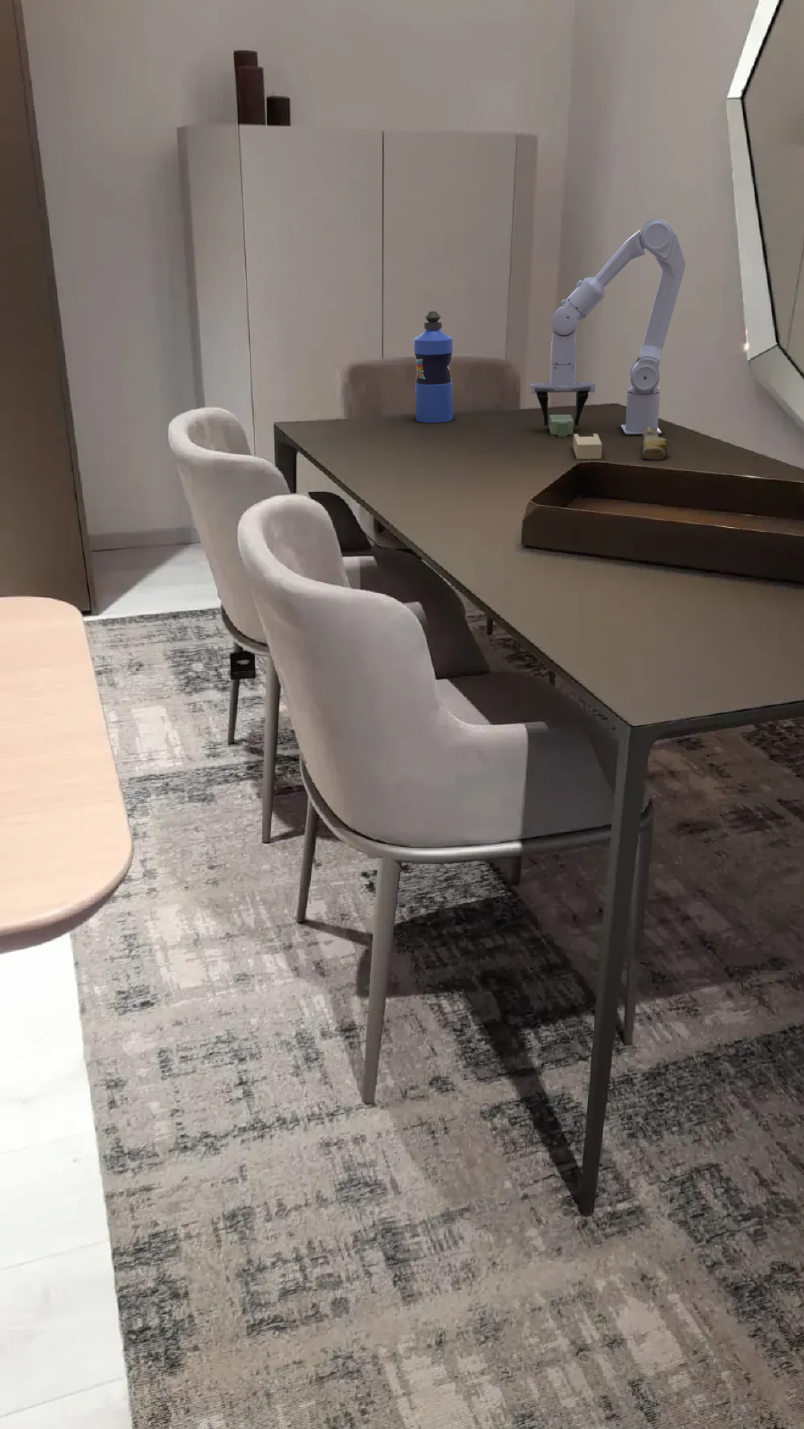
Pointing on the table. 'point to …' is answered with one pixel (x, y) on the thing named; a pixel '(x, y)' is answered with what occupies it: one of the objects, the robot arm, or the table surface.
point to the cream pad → (587, 447)
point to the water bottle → (433, 372)
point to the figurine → (654, 445)
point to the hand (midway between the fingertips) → (561, 425)
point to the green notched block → (561, 425)
